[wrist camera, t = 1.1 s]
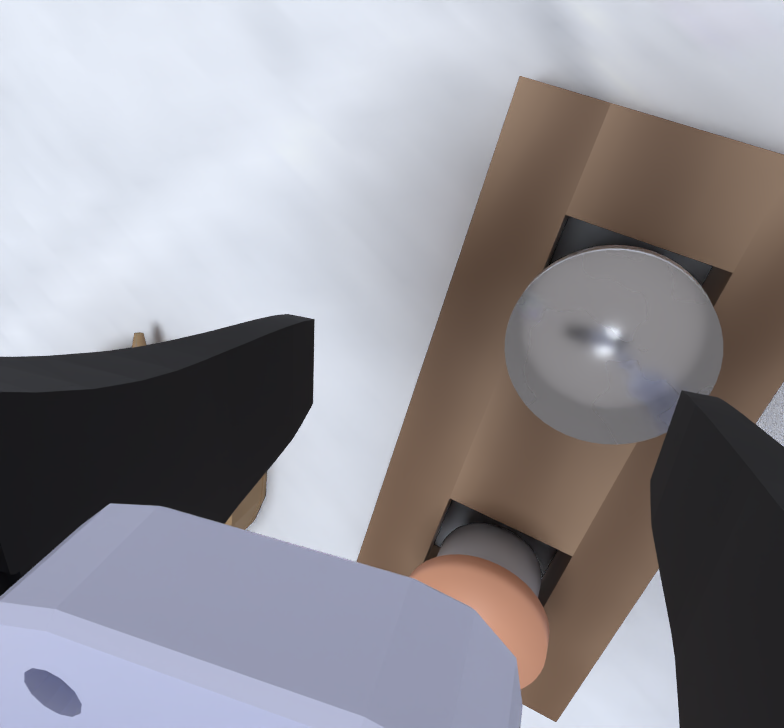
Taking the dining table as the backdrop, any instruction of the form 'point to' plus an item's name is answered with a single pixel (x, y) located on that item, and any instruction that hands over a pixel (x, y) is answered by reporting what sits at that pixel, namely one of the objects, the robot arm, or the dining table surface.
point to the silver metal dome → (612, 343)
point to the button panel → (500, 399)
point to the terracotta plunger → (495, 588)
